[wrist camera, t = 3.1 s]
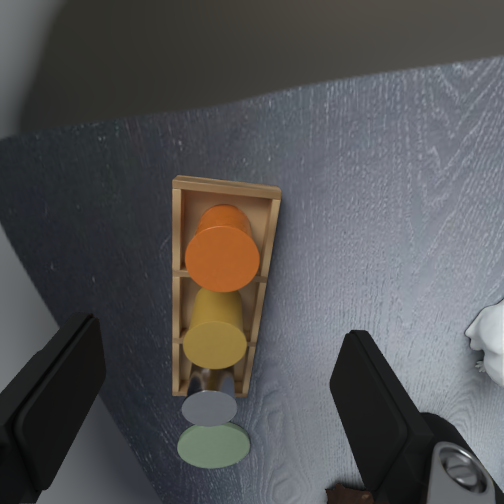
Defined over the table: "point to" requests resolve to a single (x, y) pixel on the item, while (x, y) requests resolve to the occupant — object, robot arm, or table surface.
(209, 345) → the cylinder
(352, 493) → the potted plant
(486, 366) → the rabbit figurine
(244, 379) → the pod holder
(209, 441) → the coaster
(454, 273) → the table surface
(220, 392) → the disc
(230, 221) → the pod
